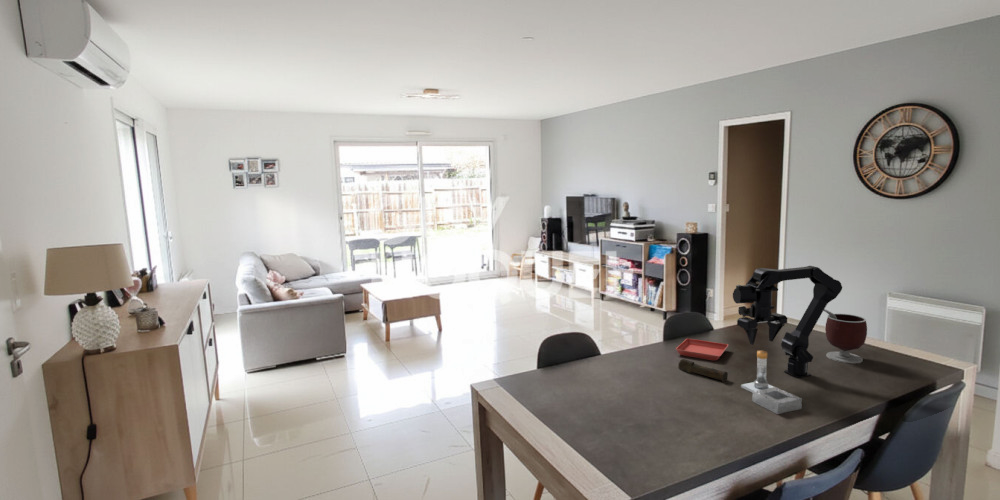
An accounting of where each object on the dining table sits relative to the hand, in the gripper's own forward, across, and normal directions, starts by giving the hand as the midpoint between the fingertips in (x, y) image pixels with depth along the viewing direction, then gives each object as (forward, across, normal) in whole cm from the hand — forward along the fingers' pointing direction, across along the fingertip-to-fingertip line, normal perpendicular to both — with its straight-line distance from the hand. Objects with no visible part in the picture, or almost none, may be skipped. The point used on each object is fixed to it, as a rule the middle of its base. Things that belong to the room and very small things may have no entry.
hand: (761, 342), depth 185 cm
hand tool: (+14, +20, -9) cm, 26 cm away
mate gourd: (+13, -45, -2) cm, 47 cm away
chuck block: (+13, +15, +21) cm, 29 cm away
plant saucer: (+14, +2, -29) cm, 32 cm away
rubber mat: (+13, +10, +10) cm, 19 cm away
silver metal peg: (+12, +10, +10) cm, 18 cm away
